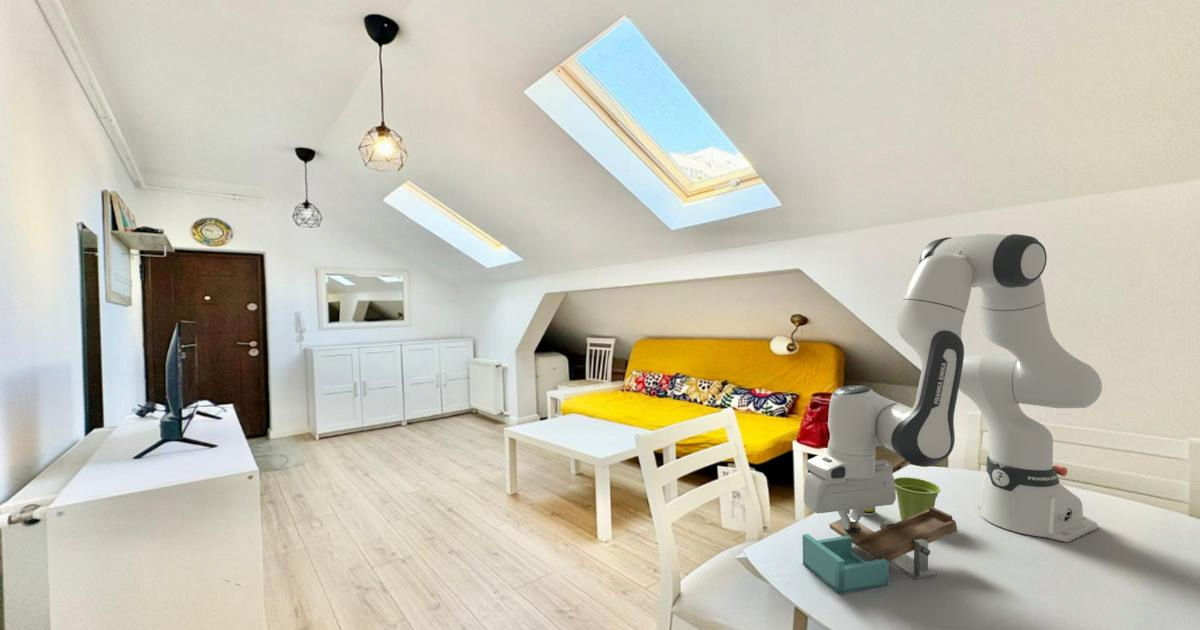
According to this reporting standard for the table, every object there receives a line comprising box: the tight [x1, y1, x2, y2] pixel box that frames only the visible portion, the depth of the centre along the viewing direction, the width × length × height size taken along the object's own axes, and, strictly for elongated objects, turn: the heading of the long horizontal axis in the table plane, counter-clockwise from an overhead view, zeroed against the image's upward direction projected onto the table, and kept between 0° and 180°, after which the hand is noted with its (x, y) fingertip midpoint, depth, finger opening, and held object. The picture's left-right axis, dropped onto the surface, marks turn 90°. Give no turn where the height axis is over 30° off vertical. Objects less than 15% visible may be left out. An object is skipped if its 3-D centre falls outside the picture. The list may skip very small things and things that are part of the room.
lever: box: [829, 506, 958, 561], centre depth 97 cm, size 18×14×3 cm
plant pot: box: [894, 476, 941, 521], centre depth 110 cm, size 9×9×9 cm
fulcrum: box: [879, 520, 938, 581], centre depth 93 cm, size 5×10×6 cm, turn 13°
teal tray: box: [802, 533, 890, 595], centre depth 90 cm, size 11×10×6 cm
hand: (850, 527), depth 98 cm, fingers closed
